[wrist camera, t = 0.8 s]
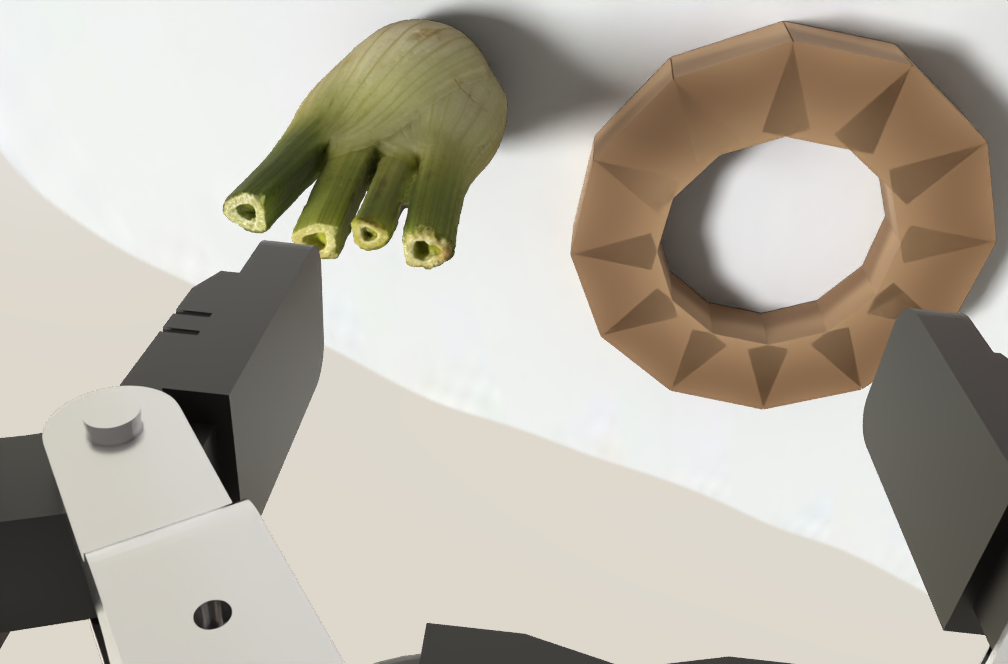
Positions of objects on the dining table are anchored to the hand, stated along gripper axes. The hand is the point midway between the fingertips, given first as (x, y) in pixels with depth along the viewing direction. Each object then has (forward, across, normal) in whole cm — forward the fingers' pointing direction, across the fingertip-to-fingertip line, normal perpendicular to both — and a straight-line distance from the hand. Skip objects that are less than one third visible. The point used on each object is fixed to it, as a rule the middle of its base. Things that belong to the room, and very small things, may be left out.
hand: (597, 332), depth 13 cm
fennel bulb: (+21, +5, +3) cm, 22 cm away
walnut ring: (+20, -8, +7) cm, 23 cm away
